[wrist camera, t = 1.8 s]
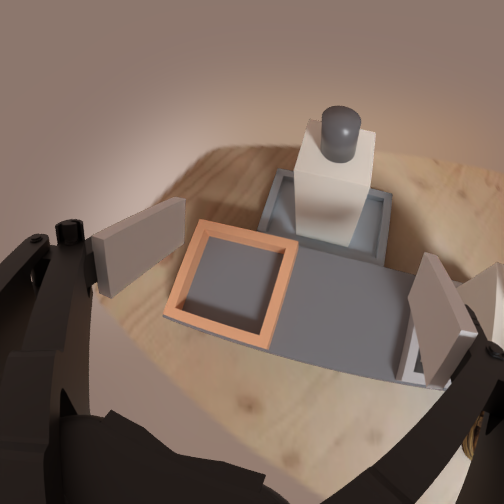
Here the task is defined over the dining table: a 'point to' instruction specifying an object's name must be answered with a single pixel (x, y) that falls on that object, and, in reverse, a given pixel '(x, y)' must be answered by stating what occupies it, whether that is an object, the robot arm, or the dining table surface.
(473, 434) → the wooden mug
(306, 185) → the bottle
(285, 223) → the tray
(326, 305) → the grey base
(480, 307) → the twin plug
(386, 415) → the dining table surface
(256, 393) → the dining table surface
